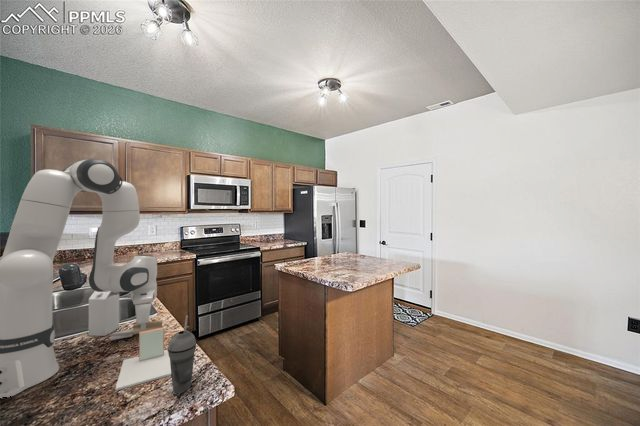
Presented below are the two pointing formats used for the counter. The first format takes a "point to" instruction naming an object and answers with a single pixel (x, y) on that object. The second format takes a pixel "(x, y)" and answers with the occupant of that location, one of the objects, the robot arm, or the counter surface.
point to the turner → (136, 330)
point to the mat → (143, 370)
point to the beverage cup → (182, 359)
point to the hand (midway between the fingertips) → (143, 327)
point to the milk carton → (103, 313)
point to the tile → (151, 344)
